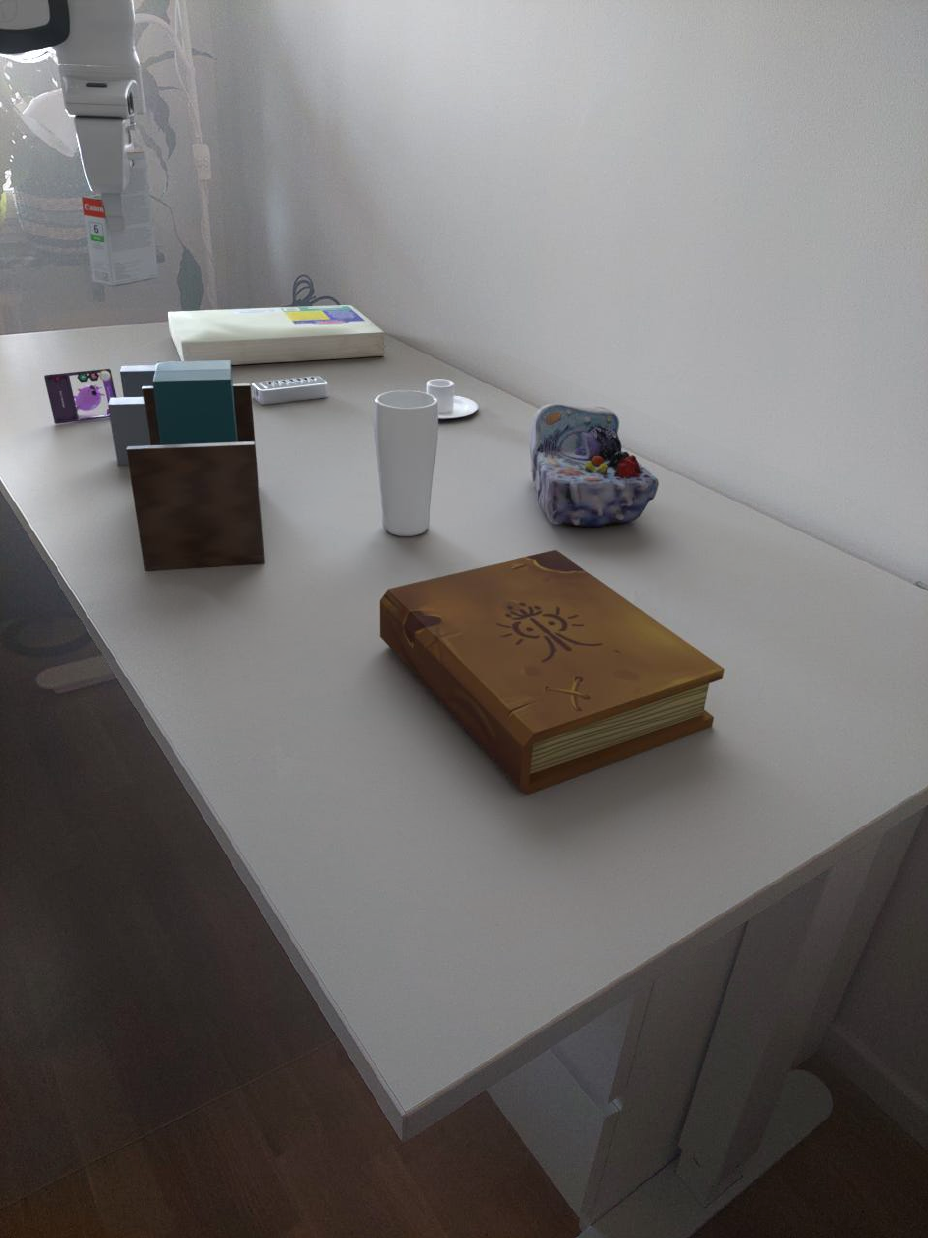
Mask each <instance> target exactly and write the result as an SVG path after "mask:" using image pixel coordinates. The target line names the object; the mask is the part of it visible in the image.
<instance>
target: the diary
mask: <svg viewBox="0 0 928 1238" xmlns="http://www.w3.org/2000/svg"><path fill="white" fill-rule="evenodd" d="M379 638H380V639H381V640H383V642H384V643H385V644H386V646H388V648H390V649H391V651H392V652H394V654H395V655H396V656H397V657H398V658H399V660H401V661H402V663H404V665H405V666H407V668H408V669H409V670H410V671H411V672H412V673H413V674H414V676H415V677H416V678H417V679H418V680H419V681H420V682H421V683H422V684H423V685H424V686H425V687H426V688H427V689H428V691H429V692H430V693H431V694H432V695H433V696H434V697H435V698H436V699H437V700H438V702H439V703H440V704H441V705H442V706H443V707H444V708H445V709H446V711H447V712H449V714H451V716H452V717H453V718H454V719H455V720H456V721H457V722H458V724H459V725H461V727H462V728H463V729H464V730H465V731H466V732H467V733H468V734H469V735H470V736H471V738H472V739H473V740H474V741H475V743H477V744H478V745H479V746H480V747H481V748H482V750H483V751H485V753H486V754H487V755H488V756H489V757H490V759H492V760H493V761H494V763H495V764H496V765H497V766H498V767H499V768H500V769H501V770H502V771H503V772H504V773H505V775H507V777H508V778H509V779H510V780H511V781H512V782H513V783H514V784H515V785H516V787H517V788H518V789H519V790H521V791H522V792H524V793H525V794H526V795H531V794H534V793H537V792H539V791H542V790H545V789H547V788H551V787H553V786H555V785H558V784H561V783H563V782H566V781H569V780H572V779H573V778H577V777H580V776H582V775H586V774H588V773H590V772H593V771H596V770H599V769H601V768H604V767H607V766H609V765H612V764H614V763H618V762H620V761H622V760H623V761H624V760H626V759H628V758H630V757H633V756H636V755H639V754H642V753H644V752H647V751H650V750H652V749H655V748H657V747H660V746H662V745H665V744H668V743H671V742H673V741H676V740H679V739H681V738H682V739H683V738H684V737H687V736H689V735H693V734H695V733H699V732H700V731H703V730H706V729H708V728H711V727H713V725H714V719H715V716H714V715H712V714H711V713H709V711H707V710H705V705H706V701H707V696H708V691H709V687H710V684H711V683H714V682H717V681H720V680H723V679H724V675H725V670H726V668H724V667H723V666H721V664H718V663H717V662H715V660H713V659H712V658H710V657H709V656H707V655H706V654H704V653H703V652H701V650H699V649H697V648H696V647H694V646H693V645H692V644H691V643H689V642H687V641H686V640H684V638H682V637H680V636H679V635H677V634H676V633H675V632H674V631H672V630H670V629H669V628H668V627H666V626H665V625H663V624H662V623H661V622H659V621H657V620H656V619H655V618H653V617H652V616H651V615H649V614H648V613H646V612H645V611H644V610H642V609H641V608H639V607H638V606H636V605H635V604H633V603H632V602H631V601H629V600H628V599H627V598H625V597H624V596H622V595H621V594H620V593H618V592H616V591H615V590H614V589H613V588H611V587H610V586H608V585H607V584H605V583H604V582H602V581H601V580H600V579H598V578H597V577H595V575H593V574H591V573H590V572H589V571H587V570H585V568H582V567H581V566H580V565H579V564H577V563H576V562H574V561H573V560H571V559H570V558H569V557H568V556H566V555H565V554H563V553H561V552H560V551H558V550H557V549H552V550H549V551H544V552H540V553H536V554H532V555H528V556H523V557H518V558H514V559H511V560H505V561H502V562H498V563H493V564H489V565H485V566H480V567H477V568H476V567H475V568H472V569H468V570H464V571H459V572H456V573H451V574H447V575H442V576H438V577H434V578H431V579H430V578H429V579H426V580H422V581H417V582H413V583H409V584H404V585H400V586H396V587H391V588H388V589H387V590H386V591H385V593H384V594H383V595H382V596H381V598H380V599H379Z"/></svg>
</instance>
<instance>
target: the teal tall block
mask: <svg viewBox="0 0 928 1238" xmlns="http://www.w3.org/2000/svg"><path fill="white" fill-rule="evenodd" d="M156 365H157V366H156V370H155V374H154V378H153V390H154V397H155V404H156V412H157V419H158V427H159V434H160V442H161V445H170V444H195V443H220V442H238V435H237V424H236V414H235V403H234V392H233V384H234V381H233V371H232V365H231V360H207V361H181V360H170V361H169V360H167V361H162V360H161V361H157V362H156Z"/></svg>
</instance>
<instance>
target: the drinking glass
mask: <svg viewBox="0 0 928 1238" xmlns="http://www.w3.org/2000/svg"><path fill="white" fill-rule="evenodd" d="M438 432H439V419H438V401H437V399H436V397H434V396H433V395H431V394H428V393H427V392H424V391H419V390H409V389H400V390H390V391H387V392H383V393H380V394H379V395H377V396H376V397H375V400H374V441H375V450H376V460H377V461H376V462H377V470H378V479H379V480H378V481H379V490H380V500H381V502H380V503H381V516H382V517H381V521H382V527H383V529H384V530H385V531H386V532H387V533H390V534H391V535H395V536H399V537H414V536H418V535H421V534H423V533H424V532H426V531H428V529H429V527H430V521H431V502H432V493H433V492H432V491H433V482H434V473H435V464H436V457H437V456H436V454H437V446H438V434H439V433H438Z"/></svg>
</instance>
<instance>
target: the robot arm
mask: <svg viewBox="0 0 928 1238" xmlns="http://www.w3.org/2000/svg"><path fill="white" fill-rule="evenodd" d="M136 25H137V21H136V11H135V4H134V0H0V57H5V58H8V59H10V60H13V61H16V62H20V63H37V62H40V61H43V60H46V59H47V58H49V57H50V56H51V55H53V54H54V55H55V56H56V59H57V66H58V72H59V79H60V85H61V86H60V87H61V91H62V92H61V93H62V98H63V106H64V111H65V112H66V114H67V115H68V116H69V117H74V118H73V122H74V127H75V128H74V129H75V134H76V139H77V143H78V148H79V152H80V157H81V162H82V165H83V170H84V174H85V177H86V180H87V184H88V187H89V189H90V190H91V192H92V193H95V194H100V195H102V202H103V205H104V209H105V212H106V215H107V221H108V228H109V230H110V231H111V232H123V231H124V230H125V228H126V226H125V218H124V215H123V204H122V192H123V191H124V190H125V189H126V188H127V186H128V185H129V184H130V171H129V167H131V166H132V165H133V162H132V160H128V156H127V152H136V151H135V144H134V143H135V142H134V137H133V131H136V130H137V129H138V128H137V120H136V118H137V117H136V116H137V115H146V113H147V107H146V100H145V90H144V83H143V72H142V65H141V61H140V58H139V56H138V52H137V50H136V44H135V33H136V27H137V26H136Z"/></svg>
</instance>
